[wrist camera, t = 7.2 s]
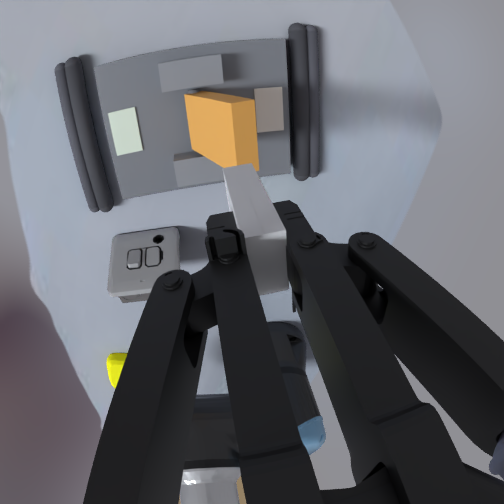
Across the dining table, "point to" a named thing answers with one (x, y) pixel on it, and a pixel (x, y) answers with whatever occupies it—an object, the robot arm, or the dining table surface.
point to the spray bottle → (115, 366)
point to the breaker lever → (222, 127)
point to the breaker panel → (175, 116)
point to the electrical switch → (141, 262)
